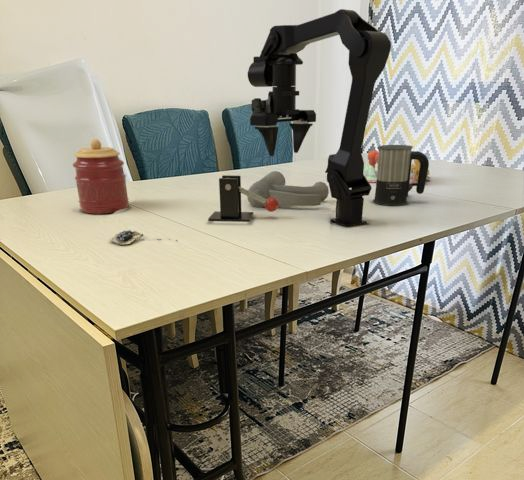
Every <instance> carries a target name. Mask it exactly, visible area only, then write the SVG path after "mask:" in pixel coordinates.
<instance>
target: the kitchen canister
mask: <svg viewBox="0 0 524 480" xmlns="http://www.w3.org/2000/svg"><path fill="white" fill-rule="evenodd" d="M120 154H121V153H120V152H119V151H118V150H116V149H115V148H113V147H109V146H102V143H101V141H100V140H99V139H98V138H97V139H96V138H93V139H92V140H91V141H90V147H82V148H80V149H78V151H77V152H75V153H74V157H75V158H76V160H75V161H74V162H73V163H72V167H73V168H74V169H75V176H74V180H75V183H76V184H75V185H76V189H77V194H78V195H77V196H78V203H79V207H80V210H81V211H82V212H83V213H87V214H94V215H96V214H99V215H101V214H104V215H105V214H112V213H116V212H118V211H120V210H124V209H126V208H128V207H129V204H130V200H129V199H130V198H129V197H128V196H129V195H128V188H127V180H126V177H127V175H126V174H125V173H124V168H123V166H124V165H125V162H124V160H122V159H120V157H119V156H120Z"/></svg>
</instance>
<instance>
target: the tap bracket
mask: <svg viewBox="0 0 524 480" xmlns="http://www.w3.org/2000/svg"><path fill="white" fill-rule="evenodd" d="M227 177H229V178H227ZM238 186H240V187H242V177H241V175H237V174H236V175H234V174H233V175H231V174H229V175H226V174H225V175H224V174H223V175H221V177H219V178H218V189H219V209H220V210H219V211H216V210H215V211H214V212H213V213H212V214H211V215H210V216H209V217H208V220H207V221H208V222H234V223H235V222H237V223H240V222H241V223H249V222H250V221H251V219H252V218H253V216H254V211H242V193H240V192H238Z"/></svg>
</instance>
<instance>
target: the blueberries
mask: <svg viewBox="0 0 524 480" xmlns="http://www.w3.org/2000/svg"><path fill="white" fill-rule="evenodd" d="M143 236H144V234H143V233H140V232H138V231H136V230H133V231H132V230H131V229H129V230H123V231H119V233H115V235H114V236H113V237H111V239H110V242H112V243H114V244H116V245H121V246H123V245H129V244H131V243H133V242H134V241H135V240H137V239H138V238H140V237H143Z"/></svg>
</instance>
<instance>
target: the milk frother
mask: <svg viewBox="0 0 524 480" xmlns="http://www.w3.org/2000/svg"><path fill="white" fill-rule="evenodd" d="M413 148H414V146H413V145H408V144H383V145H382V144H381V145H378V146H377V151H378V153H379V156H378V164H377V166H378V168H377V169H376V171H377V181H376V182H375V183H376V184H375V191H374V198H373V203H374V204H377V205H383V206H401V205H405V204H407V203H408V199H407V198H408V197H409V193H410V192H411V190H412V189H413V188H414V187H413V183H411V184H409V182H410V172H411V165H412V163H413V162H412V161H414V159H416V160H419V162H420V170H419V176H418V181H417V183H416V188H415V190H416V193H417V194H418V195H421V194H424V191H425V187H426V183H427V180H426V178H427V172H428V170H429V167H430V161H429V159H428V157H427V155H426V154H425V153H423V152H421V151H415V150H412V149H413Z"/></svg>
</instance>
